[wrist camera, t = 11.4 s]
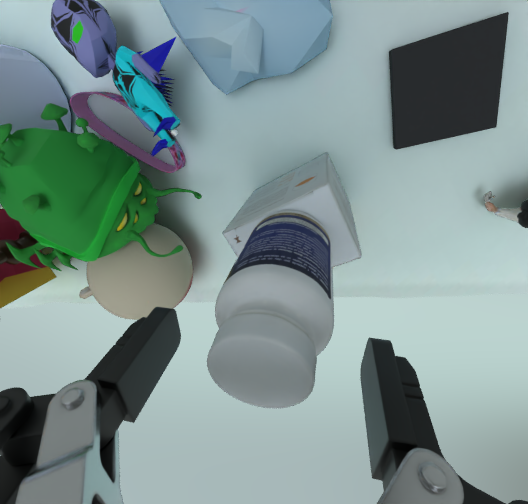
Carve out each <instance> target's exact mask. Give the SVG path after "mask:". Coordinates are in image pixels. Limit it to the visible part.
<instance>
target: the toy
mask: <svg viewBox="0 0 528 504" xmlns="http://www.w3.org/2000/svg"><path fill="white" fill-rule="evenodd" d="M24 231H27V230H25V229H24V228H23V227H22V226H21V224H20V223H19V221H17V220H15V219H13V218H11V217H9V215H8V214H7V212H6V211H5V209H0V240H7V239H11V240H14V241H15V240H17V239H19V234H20V233H22V232H24ZM40 252H41V253H42V251H41V250H40ZM30 260H31V261H32V262H33V263H34V264H36V265H37V266H39V267H40V268H42V269H40V268H36V267H33V266H30V265H27V264H25V263H22V262H20V263H18V264H15V265H11V264H8V263H5V262H4V263H2V264H0V308H2V307H4V306H5V305H7V304H9V303H11V302H13V301H14V300H16V299H18V298H20V297H21V296H23V295H25V294H27V293H29V292H30V291H32V290H34V289H36V288H38V287H39V286H41V285H43V284H45V283H47V282H48V281H50V280H52V279H54V278H56V275H55V274H54V273H53V271H52V270H51V269H50V267H48V266H46V265H44V264H42V263H41V262H40V260H39V258H38V256H37V254H36V253H35V254H34V255H32V256H30Z"/></svg>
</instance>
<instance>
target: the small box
mask: <svg viewBox="0 0 528 504" xmlns="http://www.w3.org/2000/svg"><path fill="white" fill-rule="evenodd" d="M287 210H291V211H299V212H302V213H305V214H308V215H310V216H312V217H313V218H315V219H316V220H317V221H319V222H320V223H321V224H322V226H323V227H324V228H325V229H326V231H327V233H328V235H329V237H330V240H331V243H332V267H335V266H338V265H341V264H344V263H347V262H350V261H352V260H355V259H359V258H361V256H362V254H361V249H360V245H359V241H358V236H357V232H356V227H355V223H354V219H353V214H352V210H351V206H350V203H349V200H348V198H347V195H346V193H345V191H344V188H343V186H342V184H341V181H340V179H339V177H338V175H337V172H336V170H335V168H334V166H333V163H332V161H331V159H330V157H329V154H328V153H324V154H323V155H321V156H319V157H317V158H315V159H313V160H312V161H310V162H308V163H306V164H304V165H302V166H300V167H298V168H296V169H294V170H293V171H291V172H289V173H287V174H285V175H283V176H281V177H279V178H277V179H275V180H274V181H272V182H270V183H268V184H266V185H264V186H262V187H260V188H258V189H256V190H255V191H254V192H253V193H252V194H251V196H250V197H249V198H248V200H247V201H246V202H245V203H244V205H243V206H242V207H241V209H240V210H239V211H238V213H237V214H236V216H235V217H234V218H233V220H232V221H231V222H230V223H229V225H228V226H227V227H226V229H225V230H224V231H223V235H224V237H225V238H226V240H227V241H228V243H229V244H230V246H231V248H232V249H233V251H234V252H235V254H236V255H237V257H239V255H240V253H241V251H242V250H243V248H244V246H245V244H246V242H247V240H248V238H249V237H250V235H251V233H252V231H253V230H254V228H255V227H256V225H257V224H258V223H259V222H260V221H261V220H262V219H264V218H265V217H267V216H269V215H270V214H273V213H276V212H279V211H287Z"/></svg>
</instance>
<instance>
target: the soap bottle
mask: <svg viewBox="0 0 528 504" xmlns="http://www.w3.org/2000/svg"><path fill="white" fill-rule="evenodd" d="M49 103H52V104H55V105H58V106H61V107H63V108H66V109H67V110H68V113H67V114H66V115H64V116H63V117H61V120H62V121H63V123H64V126H65V127H66V129H67V131H68V132H70V131H71V113H70V109H69V105H68V101H67V98H66V96H65V94H64V92H63V90H62V88H61V86H60V84H59V82H58V80H57V79H56V78H55V76H54V75H53V74H52V73H51V72H50V70H49V69H48V68H47V67H46V66H45V64H43V63H42V62H41V61H39V60H38V59H37V58H35V57H34V56H33V55H31V54H30V53H28V52H27V51H25V50H22V49H19V48H16V47H12V46H9V45H2V44H0V125H4V124H8V123H10V124H12V130H11V132H10V134H11V135H12V134H13V133H14V132H15V131H17V130H21V129H27V128H41V129H51V130H59V128H58V124H57V122H56V121H55V120H44V119H42V118H41V114H42V112H43V110H44V108H45V106H46V105H47V104H49ZM8 139H9V138H7V140H8ZM7 140H6V141H7Z"/></svg>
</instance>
